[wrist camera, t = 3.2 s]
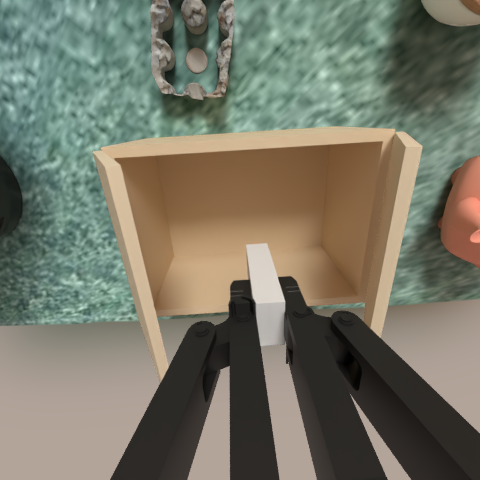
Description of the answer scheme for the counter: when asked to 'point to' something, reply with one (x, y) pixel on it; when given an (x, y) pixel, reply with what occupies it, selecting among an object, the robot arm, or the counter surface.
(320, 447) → the robot arm
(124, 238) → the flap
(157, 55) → the egg carton
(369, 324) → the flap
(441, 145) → the counter surface
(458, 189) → the teapot
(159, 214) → the carton
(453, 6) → the lidded jar
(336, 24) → the counter surface
